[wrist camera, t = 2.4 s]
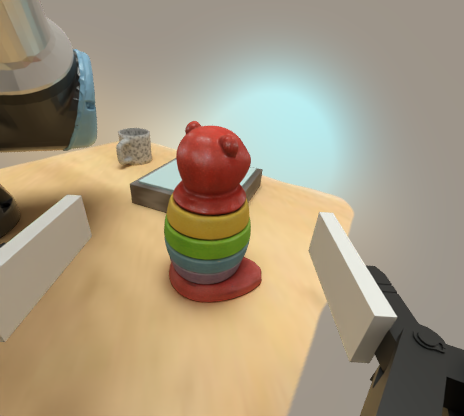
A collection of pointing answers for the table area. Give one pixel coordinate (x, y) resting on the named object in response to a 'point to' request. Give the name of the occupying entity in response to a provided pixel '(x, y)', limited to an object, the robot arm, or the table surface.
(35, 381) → the table surface
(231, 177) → the stacking bear
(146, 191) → the plinth
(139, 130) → the mug
